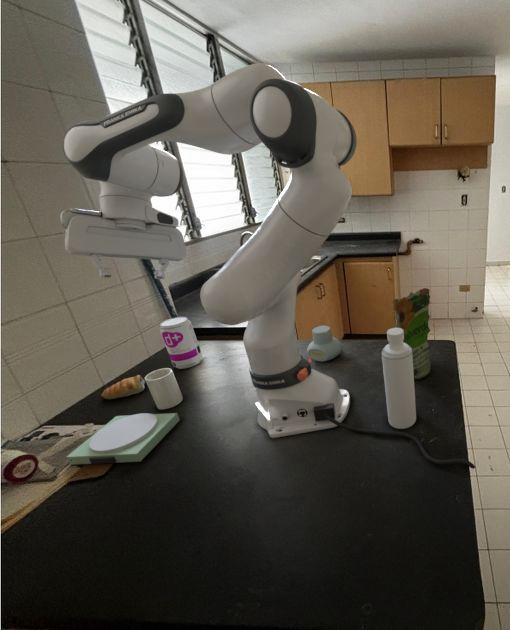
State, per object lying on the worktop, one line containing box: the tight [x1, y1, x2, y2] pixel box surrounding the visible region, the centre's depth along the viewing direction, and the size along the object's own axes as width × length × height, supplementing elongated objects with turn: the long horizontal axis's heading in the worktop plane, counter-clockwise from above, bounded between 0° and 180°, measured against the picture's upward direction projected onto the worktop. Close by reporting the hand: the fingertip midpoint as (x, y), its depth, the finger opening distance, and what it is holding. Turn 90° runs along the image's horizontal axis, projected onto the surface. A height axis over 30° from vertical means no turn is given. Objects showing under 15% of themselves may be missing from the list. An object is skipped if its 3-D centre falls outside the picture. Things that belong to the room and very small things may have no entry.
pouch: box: [391, 287, 432, 380], centre depth 94 cm, size 11×12×25 cm
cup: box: [144, 367, 184, 410], centre depth 88 cm, size 6×6×9 cm
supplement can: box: [159, 316, 204, 370], centre depth 106 cm, size 8×8×15 cm
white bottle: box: [380, 327, 417, 430], centre depth 75 cm, size 7×7×25 cm
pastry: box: [100, 374, 146, 400], centre depth 94 cm, size 9×7×4 cm
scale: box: [65, 412, 181, 466], centre depth 76 cm, size 15×13×3 cm
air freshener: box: [306, 325, 343, 362], centre depth 107 cm, size 11×8×10 cm
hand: (134, 278), depth 74 cm, fingers open, 8 cm apart
